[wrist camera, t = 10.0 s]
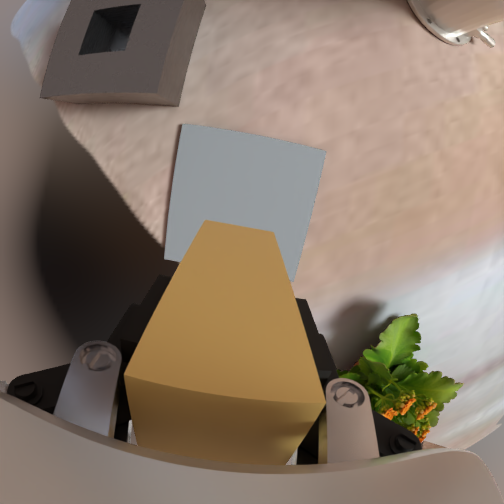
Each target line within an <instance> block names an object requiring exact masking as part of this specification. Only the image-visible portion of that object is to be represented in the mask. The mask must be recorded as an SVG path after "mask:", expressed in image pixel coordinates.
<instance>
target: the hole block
mask: <svg viewBox="0 0 504 504" xmlns="http://www.w3.org/2000/svg"><path fill="white" fill-rule="evenodd" d="M205 7H206V4H205V1H204V0H71V2H70V5H69V7H68V9H67V11H66V14H65V16H64V19H63V21H62V24H61V26H60V29H59V32H58V34H57V37H56V40H55V43H54V46H53V49H52V52H51V56H50V59H49V62H48V66H47V70H46V73H45V77H44V81H43V86H42V90H41V95H40V98H44V99H51V100H57V101H63V102H69V103H75V104H91V103H130V104H153V105H168V106H179V103H180V98H181V94H182V89H183V85H184V81H185V76H186V72H187V68H188V64H189V61H190V57H191V53H192V50H193V46H194V42H195V39H196V36H197V32H198V29H199V26H200V22H201V19H202V16H203V13H204V10H205Z"/></svg>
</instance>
